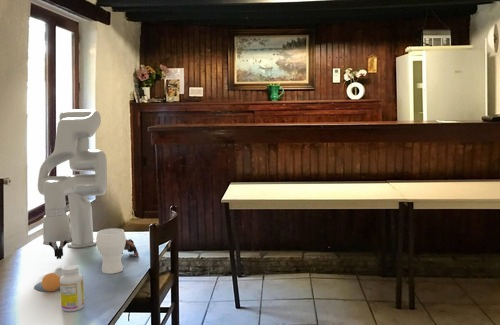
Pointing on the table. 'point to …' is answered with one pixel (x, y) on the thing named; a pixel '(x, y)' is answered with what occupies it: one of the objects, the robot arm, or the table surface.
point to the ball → (51, 282)
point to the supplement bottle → (71, 289)
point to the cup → (111, 249)
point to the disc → (40, 288)
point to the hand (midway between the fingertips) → (59, 257)
